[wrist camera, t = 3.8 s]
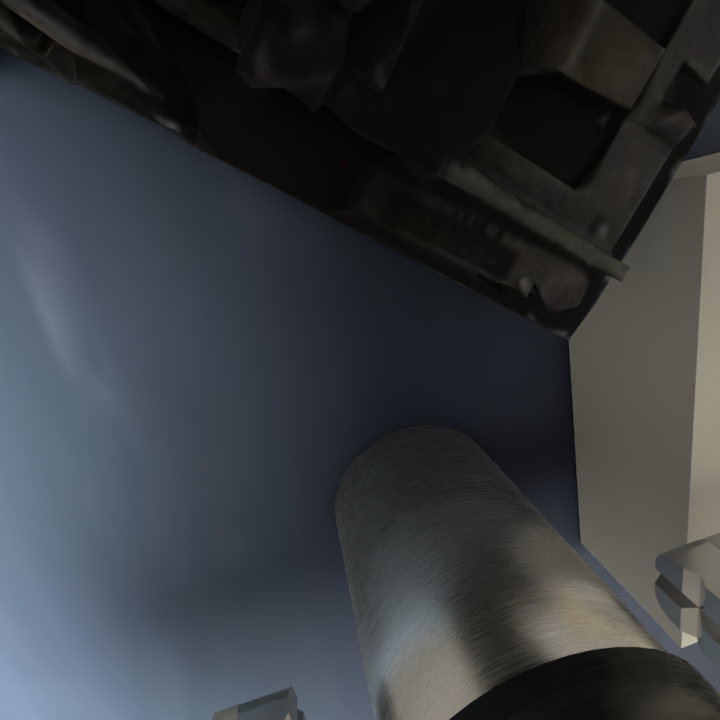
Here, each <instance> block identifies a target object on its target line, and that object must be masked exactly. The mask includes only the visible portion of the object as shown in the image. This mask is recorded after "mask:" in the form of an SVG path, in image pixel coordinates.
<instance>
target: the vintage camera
mask: <svg viewBox="0 0 720 720" xmlns="http://www.w3.org/2000/svg"><path fill="white" fill-rule="evenodd" d="M0 48H1V49H3V50H5V51H7V52H9V53H11V54H13V55H15V56H17V57H19V58H21V59H23V60H25V61H27V62H29V63H31V64H33V65H35V66H37V67H39V68H41V69H43V70H45V71H47V72H49V73H51V74H53V75H55V76H57V77H59V78H61V79H63V80H65V81H67V82H69V83H71V84H74V85H78V86H81V87H85V88H87V89H89V90H91V91H93V92H95V93H97V94H99V95H101V96H102V97H104V98H106V99H108V100H110V101H112V102H114V103H116V104H118V105H120V106H122V107H124V108H125V109H127V110H129V111H131V112H133V113H135V114H137V115H139V116H141V117H143V118H145V119H147V120H149V121H152V122H154V123H156V124H159V125H160V126H162V127H163V128H165V129H167V130H168V131H170V132H171V133H173V134H175V135H176V136H178V137H179V138H181V139H182V140H184V141H186V142H187V143H189V144H190V145H192V146H194V147H196V148H198V149H199V150H201V151H203V152H205V153H207V154H209V155H211V156H213V157H215V158H217V159H219V160H221V161H223V162H225V163H227V164H229V165H231V166H232V167H234V168H236V169H238V170H240V171H242V172H244V173H246V174H248V175H250V176H252V177H254V178H256V179H258V180H260V181H262V182H264V183H266V184H268V185H270V186H272V187H273V188H275V189H277V190H279V191H281V192H283V193H285V194H287V195H289V196H291V197H293V198H295V199H297V200H299V201H301V202H303V203H304V204H306V205H308V206H310V207H312V208H314V209H316V210H318V211H320V212H322V213H324V214H325V215H327V216H329V217H331V218H333V219H335V220H337V221H339V222H341V223H343V224H344V225H346V226H348V227H350V228H352V229H354V230H356V231H358V232H360V233H362V234H363V235H365V236H367V237H369V238H371V239H373V240H375V241H377V242H379V243H381V244H382V245H384V246H386V247H388V248H390V249H392V250H394V251H396V252H398V253H400V254H401V255H403V256H405V257H407V258H409V259H411V260H413V261H415V262H417V263H419V264H421V265H423V266H425V267H427V268H429V269H431V270H433V271H435V272H437V273H439V274H441V275H443V276H444V277H446V278H448V279H450V280H452V281H454V282H456V283H458V284H460V285H462V286H464V287H466V288H468V289H470V290H472V291H474V292H476V293H478V294H480V295H482V296H484V297H486V298H488V299H489V300H491V301H493V302H495V303H497V304H499V305H501V306H503V307H505V308H507V309H509V310H511V311H513V312H515V313H517V314H519V315H521V316H523V317H525V318H527V319H528V320H530V321H532V322H534V323H536V324H538V325H540V326H541V327H543V328H545V329H547V330H549V331H551V332H553V333H555V334H556V335H558V336H560V337H562V338H564V339H566V340H568V341H569V339H570V338H571V336H572V335H573V334H574V332H575V331H576V330H577V328H578V327H579V326H580V324H581V323H582V321H583V320H584V319H585V317H586V316H587V315H588V313H589V312H590V310H591V309H592V308H593V306H594V305H595V304H596V302H597V300H598V299H599V297H600V296H601V294H602V292H603V291H604V289H605V288H606V286H607V285H608V283H609V281H610V280H611V278H614V279H616V280H618V281H621V282H622V281H623V279H624V277H625V276H626V274H627V272H628V271H629V269H630V266H628V265H626V264H624V263H622V261H623V259H624V257H625V256H626V254H627V253H628V251H629V249H630V248H631V246H632V245H633V243H634V242H635V240H636V238H637V237H638V235H639V234H640V232H641V230H642V229H643V227H644V225H645V224H646V222H647V220H648V219H649V217H650V215H651V214H652V212H653V210H654V208H655V207H656V205H657V203H658V202H659V200H660V198H661V196H662V195H663V193H664V191H665V190H666V188H667V186H668V185H669V183H670V181H671V180H672V178H673V176H674V175H675V173H676V171H677V170H678V168H679V166H680V165H681V163H682V161H683V160H684V158H685V156H686V155H687V153H688V151H689V150H690V148H691V146H692V145H693V143H694V141H695V140H696V138H697V136H698V135H699V133H700V131H701V129H702V128H703V126H704V124H705V123H706V121H707V119H708V118H709V116H710V114H711V113H712V111H713V109H714V108H715V106H716V104H717V103H718V101H719V99H720V0H0Z"/></svg>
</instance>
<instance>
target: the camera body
mask: <svg viewBox="0 0 720 720" xmlns="http://www.w3.org/2000/svg"><path fill="white" fill-rule="evenodd" d="M622 263H624V264H626V265H628V266H630V269H629V271H628V272H627V274H626V276H625V277H624V279H623V281H622V282H621V281H618V280H616V279H614V278H611V280H610V281H609V283H608V285H607V286H606V288H605V289H604V291H603V292H602V294H601V296H600V297H599V299H598V300H597V302H596V304H595V305H594V306H593V308H592V309H591V310H590V312H589V313H588V315H587V316H586V317H585V319H584V320H583V321H582V323H581V324H580V326H579V327H578V328H577V330H576V331H575V332H574V334H573V335H572V336H571V338H570V339H569V353H570V370H571V387H572V404H573V421H574V438H575V455H576V472H577V489H578V506H579V523H580V540H581V543H582V544H583V546H584V547H585V548H586V549H587V550H588V551H589V552H590V553H591V554H592V555H593V556H594V557H595V558H596V559H597V560H598V561H599V562H600V563H601V564H602V565H603V567H604V568H605V569H606V570H607V571H608V572H609V573H610V574H611V575H612V576H613V577H614V578H615V579H616V580H617V581H618V582H619V583H620V584H621V585H622V586H623V588H624V589H625V590H626V591H627V592H628V593H629V594H630V595H631V596H632V597H633V598H634V599H635V600H636V601H637V602H638V603H639V604H640V605H641V606H642V607H643V609H644V610H645V611H646V612H647V613H648V614H649V615H650V616H651V617H652V618H653V619H654V620H655V621H656V622H657V623H658V624H659V625H660V626H661V627H662V628H663V630H664V631H665V632H666V633H667V634H668V635H669V636H670V637H671V638H672V639H673V640H674V641H675V642H676V643H677V644H678V645H679V646H680V647H681V648H683V647H686V646H688V645H691V644H694V643H696V642H698V640H697V638H696V637H694V636H692V635H690V634H687V633H685V632H683V631H681V630H679V629H678V627H677V626H676V625H675V624H674V623H673V622H672V621H671V620H670V619H669V618H668V617H667V615H666V614H665V613H664V611H663V610H662V608H661V606H660V604H659V602H658V600H657V598H656V595H655V582H656V580H657V579H658V577H659V575H660V574H661V573H660V572H659V571H658V570H657V569H656V568H655V559H656V558H657V557H658V555H659V554H662V553H664V552H667V551H669V550H672V549H675V548H677V547H680V546H683V545H685V544H688V543H690V542H693V541H696V540H701V539H703V538H706V537H708V536H711V535H714V534H716V533H720V152H718V153H715V154H711V155H707V156H703V157H699V158H695V159H691V160H687V161H683V162H682V163H681V165H680V166H679V168H678V170H677V171H676V173H675V175H674V176H673V178H672V180H671V181H670V183H669V185H668V186H667V188H666V190H665V191H664V193H663V195H662V196H661V198H660V200H659V202H658V203H657V205H656V207H655V208H654V210H653V212H652V214H651V215H650V217H649V219H648V220H647V222H646V224H645V225H644V227H643V229H642V230H641V232H640V234H639V235H638V237H637V238H636V240H635V242H634V243H633V245H632V246H631V248H630V249H629V251H628V253H627V254H626V256H625V257H624V259H623V261H622Z"/></svg>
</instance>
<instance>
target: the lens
mask: <svg viewBox="0 0 720 720" xmlns="http://www.w3.org/2000/svg"><path fill="white" fill-rule="evenodd" d="M335 518H336V523H337V529H338V534H339V539H340V544H341V550H342V555H343V560H344V565H345V571H346V576H347V581H348V586H349V592H350V597H351V602H352V607H353V613H354V618H355V623H356V628H357V634H358V639H359V644H360V649H361V655H362V660H363V665H364V670H365V676H366V681H367V686H368V691H369V697H370V702H371V707H372V712H373V717H374V720H720V694H719V693H718V692H717V691H716V689H715V688H714V687H713V686H712V685H711V684H710V683H709V682H708V681H707V680H706V679H705V678H704V677H703V676H702V675H701V674H700V672H699V671H698V670H697V669H695V668H694V667H693V666H692V665H690V664H689V663H688V662H687V661H685V660H683V659H681V658H679V657H677V656H675V655H673V654H670V653H668V652H667V651H666V650H665V649H664V648H663V647H662V646H661V645H660V644H659V643H658V641H657V640H656V639H655V638H654V637H653V636H652V635H651V634H650V633H649V632H648V630H647V629H646V628H645V627H644V626H643V625H642V624H641V623H640V622H639V621H638V619H637V618H636V617H635V616H634V615H633V614H632V613H631V612H630V611H629V610H628V608H627V607H626V606H625V605H624V604H623V603H622V602H621V601H620V600H619V599H618V598H617V596H616V595H615V594H614V593H613V592H612V591H611V590H610V589H609V588H608V587H607V585H606V584H605V583H604V582H603V581H602V580H601V579H600V578H599V577H598V576H597V574H596V573H595V572H594V571H593V570H592V569H591V568H590V567H589V566H588V565H587V564H586V562H585V561H584V560H583V559H582V558H581V557H580V556H579V555H578V554H577V553H576V551H575V550H574V549H573V548H572V547H571V546H570V545H569V544H568V543H567V542H566V540H565V539H564V538H563V537H562V536H561V535H560V534H559V533H558V532H557V531H556V529H555V528H554V527H553V526H552V525H551V524H550V523H549V522H548V521H547V520H546V519H545V517H544V516H543V515H542V514H541V513H540V512H539V511H538V510H537V509H536V508H535V506H534V505H533V504H532V503H531V502H530V501H529V500H528V499H527V498H526V497H525V495H524V494H523V493H522V492H521V491H520V490H519V489H518V488H517V487H516V486H515V484H514V483H513V482H512V481H511V480H510V479H509V478H508V477H507V476H506V475H505V474H504V472H503V471H502V470H501V469H500V468H499V467H498V466H497V465H496V464H495V463H494V461H493V460H492V459H491V458H490V457H489V456H488V455H487V454H486V453H485V452H484V450H483V449H482V448H481V447H480V446H479V445H478V444H477V443H476V442H475V441H474V440H472V439H471V438H470V437H468V436H467V435H465V434H464V433H462V432H459V431H457V430H455V429H452V428H448V427H445V426H438V425H417V426H410V427H406V428H402V429H399V430H396V431H393V432H391V433H388V434H386V435H385V436H383V437H381V438H379V439H377V440H376V441H374V442H373V443H371V444H370V445H368V446H367V447H366V448H365V449H364V450H362V451H361V452H360V453H359V454H358V455H357V457H356V458H355V459H354V460H353V461H352V462H351V464H350V465H349V466H348V468H347V469H346V471H345V473H344V475H343V476H342V478H341V481H340V483H339V486H338V489H337V493H336V497H335Z"/></svg>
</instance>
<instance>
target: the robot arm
mask: <svg viewBox="0 0 720 720" xmlns="http://www.w3.org/2000/svg"><path fill="white" fill-rule="evenodd" d="M655 568H656V569H657V570H658V571H659V572H660V573H661V574H660V575H659V577H658V579H657V580H656V582H655V595H656V598H657V600H658V602H659V604H660V606H661V608H662V610H663V611H664V613H665V614H666V615H667V617H668V618H669V619H670V620H671V621H672V622H673V623H674V624H675V625H676V626H677V627H678V629H679V630H681V631H683V632H685V633H687V634H690V635H692V636H694V637H696V638H697V640H698V643H699V647H700V650H701V652H702V653H703V654H704V655H705V656H706V657H707V658H708V659H709V660H710V661H711V662H712V663H713V664H714V665H715V666H716V667H717V668H718V669H719V670H720V533H716V534H714V535H711V536H708V537H706V538H703V539H701V540H696V541H693V542H690V543H688V544H685V545H683V546H680V547H677V548H675V549H672V550H669V551H667V552H664V553H662V554H659V555H658V557H657V558H656V559H655ZM212 720H306V718H305V715H304V713H303V711H301V710H298V709H297V696H296V694H295V692H294V690H293V688H292V687H289V688H286V689H284V690H281V691H278V692H275V693H272V694H269V695H266V696H263V697H260V698H257V699H254V700H252V701H249V702H246V703H243V704H239V705H236V706H233V707H230V708H228V709H225V710H222V711H219V712H217V713H215V714H214V716H213V719H212Z"/></svg>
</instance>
